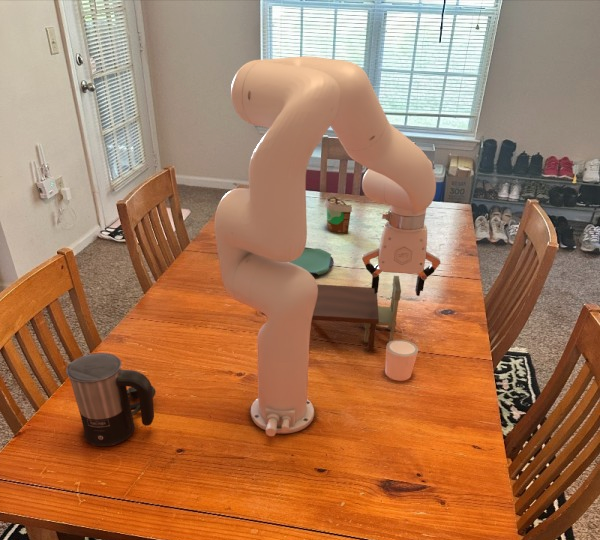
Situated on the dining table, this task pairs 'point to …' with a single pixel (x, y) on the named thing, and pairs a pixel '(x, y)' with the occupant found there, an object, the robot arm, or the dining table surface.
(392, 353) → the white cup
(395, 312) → the chair
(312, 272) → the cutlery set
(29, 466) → the dining table surface
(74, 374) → the milk frother
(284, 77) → the robot arm
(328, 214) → the food container
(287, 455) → the dining table surface
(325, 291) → the model table
